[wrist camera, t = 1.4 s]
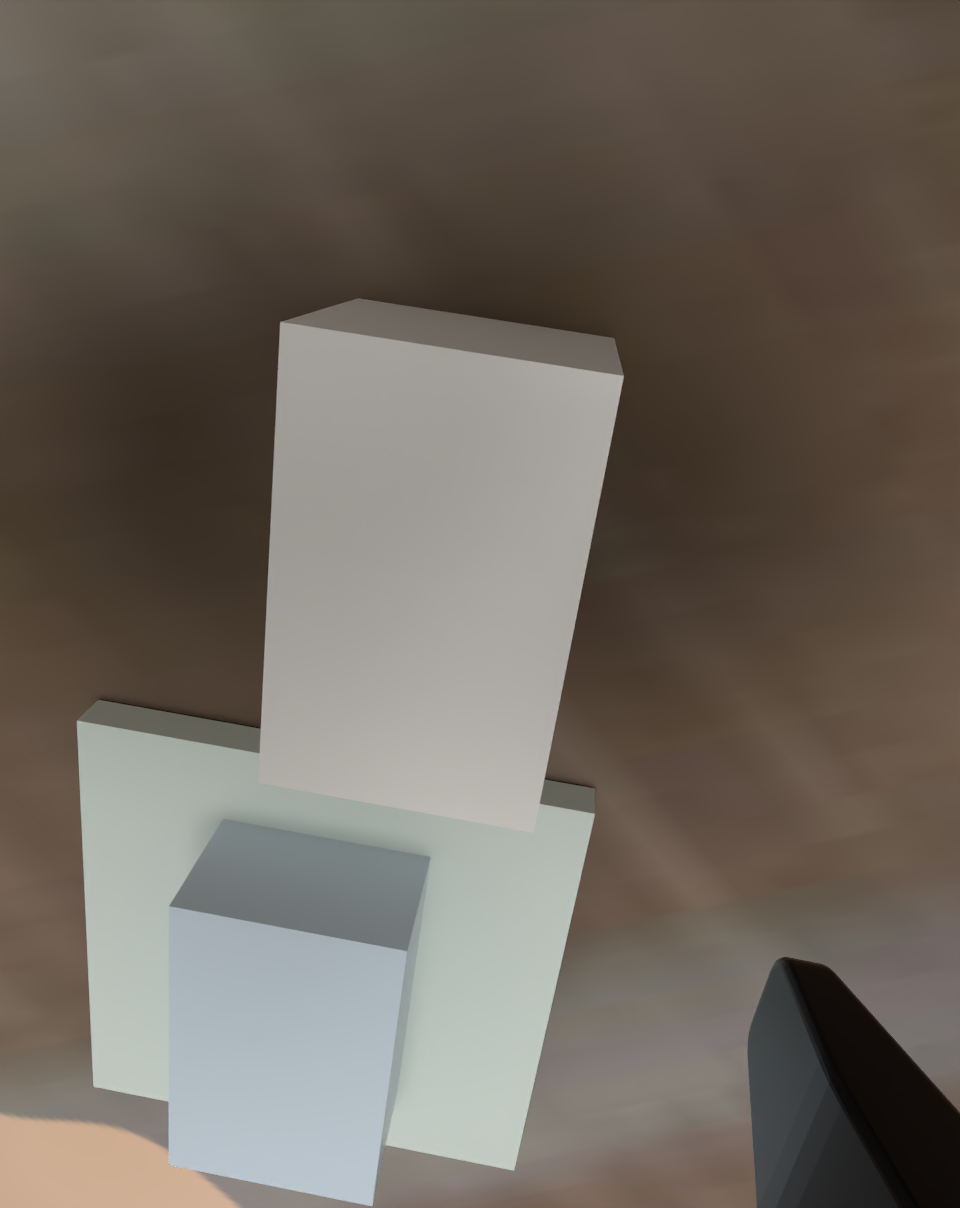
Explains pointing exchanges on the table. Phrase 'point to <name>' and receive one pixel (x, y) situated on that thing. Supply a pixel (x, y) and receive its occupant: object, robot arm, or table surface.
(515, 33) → the table surface
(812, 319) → the table surface
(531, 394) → the ivory brick
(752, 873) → the table surface
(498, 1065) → the baseplate
